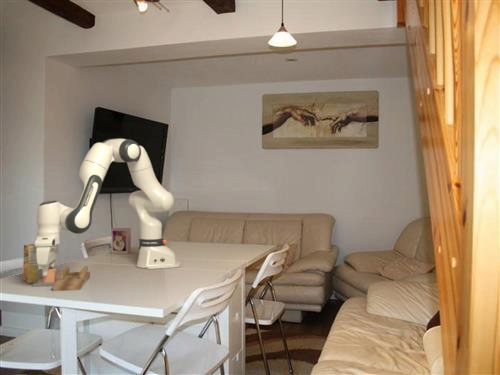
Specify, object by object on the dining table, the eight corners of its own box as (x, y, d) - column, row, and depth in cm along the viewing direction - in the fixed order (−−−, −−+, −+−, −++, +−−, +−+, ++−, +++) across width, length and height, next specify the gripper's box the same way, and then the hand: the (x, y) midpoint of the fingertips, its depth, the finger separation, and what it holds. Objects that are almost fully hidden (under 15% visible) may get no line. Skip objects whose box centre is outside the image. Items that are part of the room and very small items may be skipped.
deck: (90, 277, 193) (90, 264, 193) (80, 289, 169) (80, 275, 169) (66, 277, 191) (66, 265, 191) (53, 290, 167) (53, 276, 167)
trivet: (61, 281, 184) (61, 278, 184) (56, 285, 176) (56, 282, 176) (39, 281, 182) (39, 278, 182) (33, 286, 174) (33, 283, 174)
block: (45, 279, 181) (45, 269, 181) (56, 279, 182) (56, 268, 182) (42, 282, 176) (42, 271, 176) (54, 281, 177) (54, 270, 177)
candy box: (22, 279, 186) (22, 244, 186) (33, 278, 189) (33, 243, 189) (28, 283, 179) (28, 246, 179) (38, 281, 182) (39, 245, 182)
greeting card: (110, 252, 262) (110, 228, 262) (117, 251, 269) (118, 227, 269) (126, 253, 259) (127, 229, 259) (133, 252, 266) (133, 228, 266)
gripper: (46, 236, 189) (46, 268, 189) (33, 243, 169) (33, 278, 169) (62, 236, 190) (62, 267, 190) (50, 242, 170) (50, 277, 170)
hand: (48, 272), depth 179 cm, fingers open, 8 cm apart
